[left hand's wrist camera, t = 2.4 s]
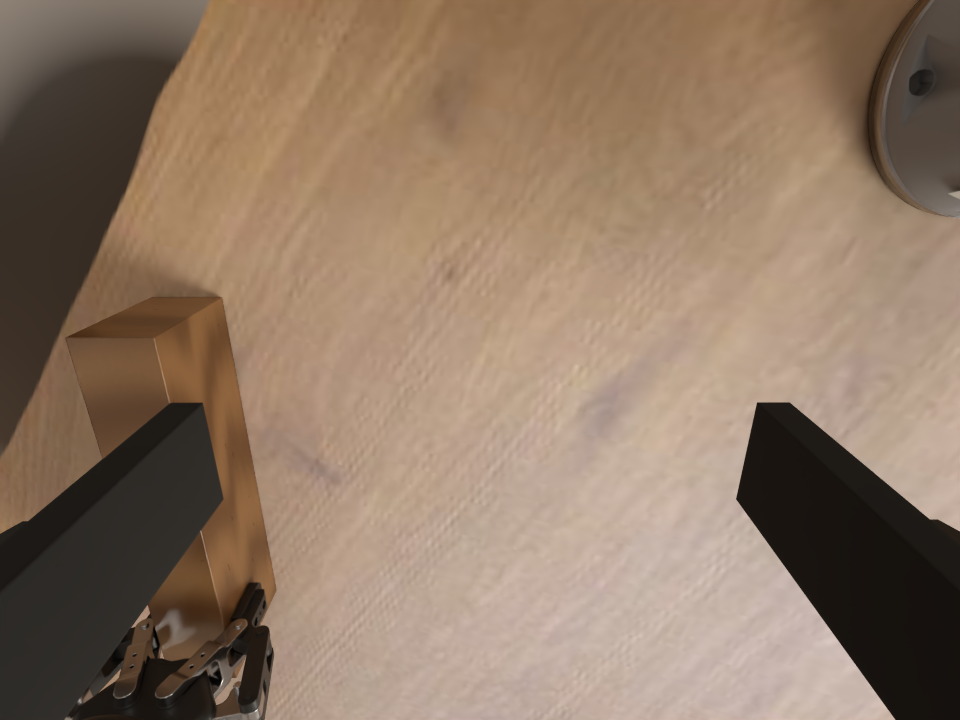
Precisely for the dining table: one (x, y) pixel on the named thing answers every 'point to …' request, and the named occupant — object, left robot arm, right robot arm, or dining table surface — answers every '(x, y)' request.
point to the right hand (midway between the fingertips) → (221, 590)
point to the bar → (212, 381)
